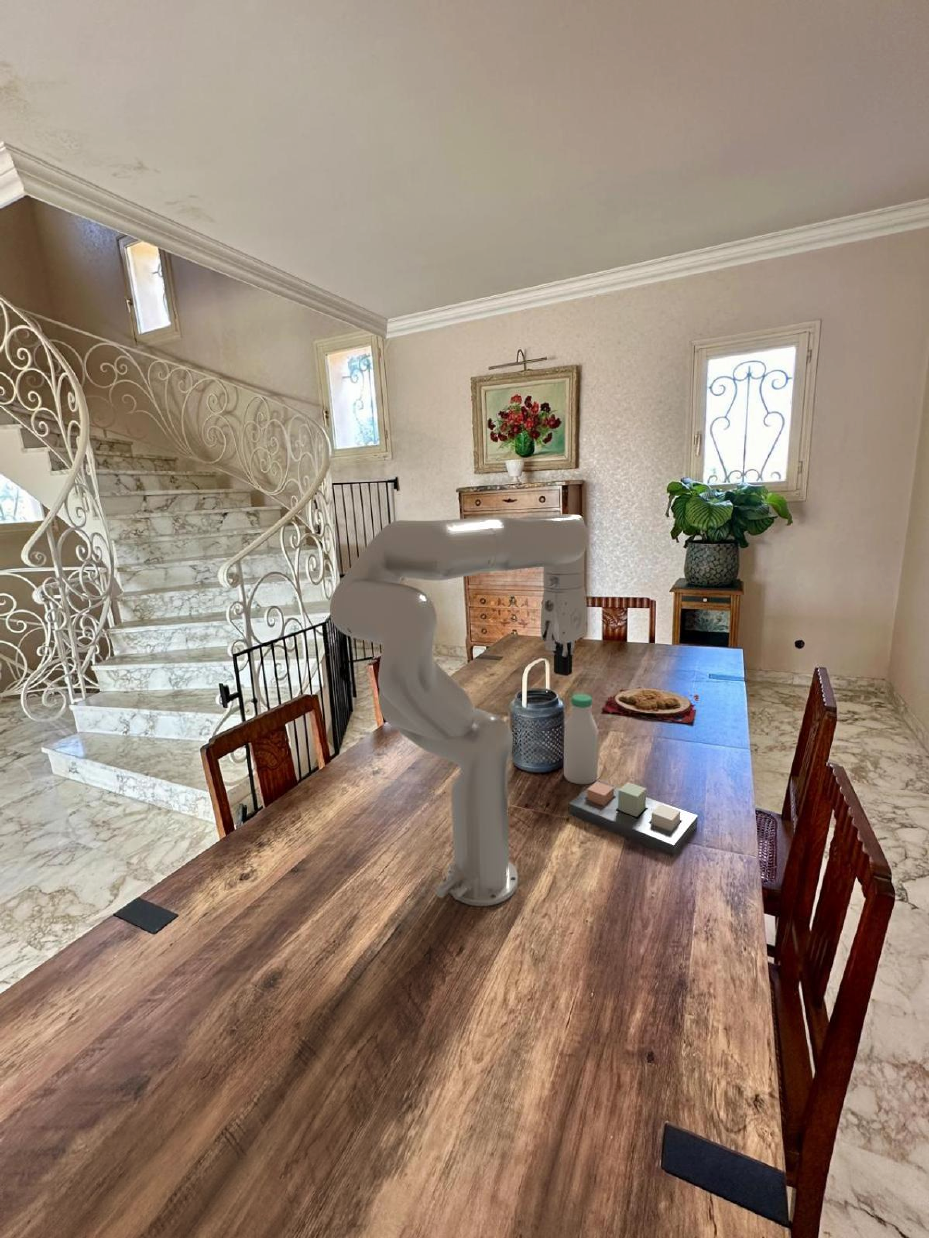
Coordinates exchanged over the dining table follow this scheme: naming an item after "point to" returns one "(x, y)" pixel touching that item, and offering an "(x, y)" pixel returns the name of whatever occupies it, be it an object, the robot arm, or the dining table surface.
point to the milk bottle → (581, 742)
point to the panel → (634, 822)
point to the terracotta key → (600, 793)
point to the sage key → (632, 799)
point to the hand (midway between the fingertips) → (562, 673)
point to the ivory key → (666, 818)
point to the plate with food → (652, 704)
